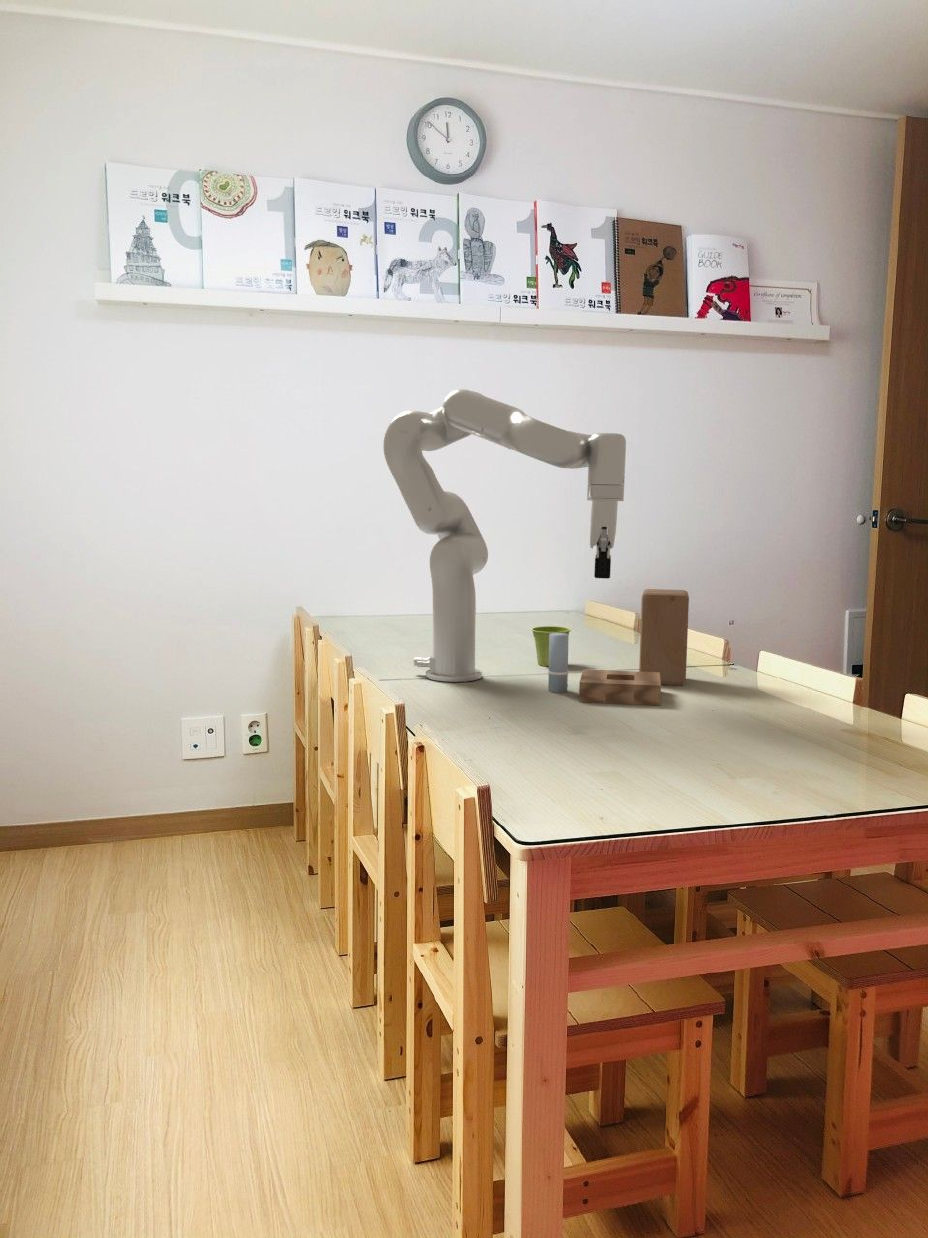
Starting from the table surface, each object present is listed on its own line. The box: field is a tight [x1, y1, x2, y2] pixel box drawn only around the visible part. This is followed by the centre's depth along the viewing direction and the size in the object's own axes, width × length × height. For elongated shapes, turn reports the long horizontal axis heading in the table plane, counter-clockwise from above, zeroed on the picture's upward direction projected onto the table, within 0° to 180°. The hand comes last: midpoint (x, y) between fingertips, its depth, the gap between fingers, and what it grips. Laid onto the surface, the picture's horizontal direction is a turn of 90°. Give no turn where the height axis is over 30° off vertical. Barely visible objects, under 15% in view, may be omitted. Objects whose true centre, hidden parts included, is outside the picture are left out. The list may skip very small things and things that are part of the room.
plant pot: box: [530, 625, 572, 667], centre depth 243 cm, size 9×9×9 cm
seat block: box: [578, 669, 662, 706], centre depth 208 cm, size 16×14×4 cm
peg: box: [547, 633, 570, 694], centre depth 213 cm, size 4×4×12 cm
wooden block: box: [638, 588, 690, 686], centre depth 223 cm, size 10×10×20 cm
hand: (602, 575), depth 213 cm, fingers open, 9 cm apart
